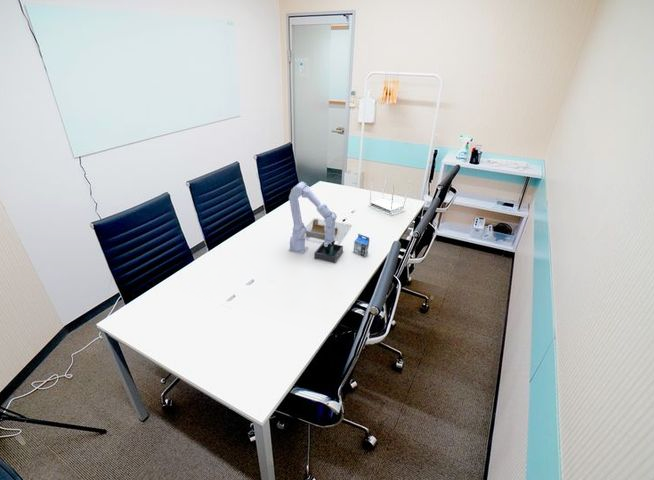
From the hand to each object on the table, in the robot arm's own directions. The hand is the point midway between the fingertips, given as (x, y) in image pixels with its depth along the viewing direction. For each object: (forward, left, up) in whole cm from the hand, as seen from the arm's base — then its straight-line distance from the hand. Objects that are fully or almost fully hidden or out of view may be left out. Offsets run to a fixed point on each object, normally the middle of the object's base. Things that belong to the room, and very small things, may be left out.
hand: (328, 251), depth 211 cm
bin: (0, 0, -3) cm, 3 cm away
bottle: (0, 0, -2) cm, 2 cm away
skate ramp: (-14, +31, -3) cm, 34 cm away
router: (+18, +92, -3) cm, 94 cm away
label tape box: (+18, +10, -3) cm, 21 cm away
